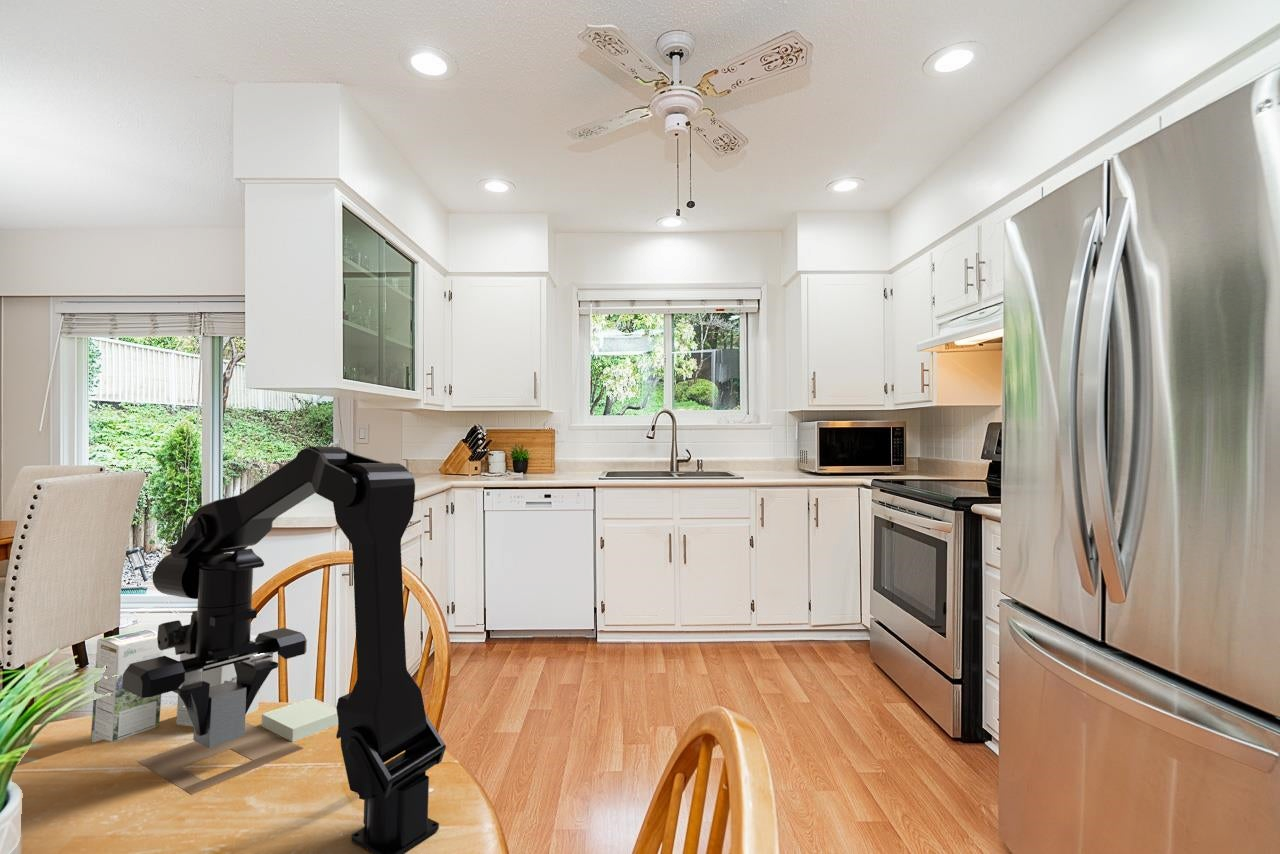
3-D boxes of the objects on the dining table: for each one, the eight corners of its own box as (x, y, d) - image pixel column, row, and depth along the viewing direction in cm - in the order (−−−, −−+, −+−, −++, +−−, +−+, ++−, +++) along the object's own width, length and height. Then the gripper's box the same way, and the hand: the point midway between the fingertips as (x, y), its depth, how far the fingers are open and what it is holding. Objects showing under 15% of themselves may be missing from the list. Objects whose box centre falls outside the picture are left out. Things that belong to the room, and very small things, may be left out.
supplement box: (217, 740, 86) (221, 649, 86) (173, 735, 87) (178, 645, 88) (259, 718, 93) (263, 634, 93) (219, 713, 94) (222, 631, 95)
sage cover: (342, 735, 88) (343, 711, 89) (292, 755, 82) (293, 729, 83) (311, 720, 93) (311, 697, 93) (260, 738, 87) (261, 713, 87)
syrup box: (138, 727, 89) (143, 627, 90) (160, 736, 87) (165, 633, 87) (89, 744, 84) (95, 637, 85) (111, 753, 81) (117, 644, 82)
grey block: (244, 735, 77) (246, 687, 78) (209, 748, 74) (211, 698, 74) (228, 728, 79) (230, 681, 80) (193, 740, 76) (195, 691, 76)
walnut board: (302, 759, 81) (303, 747, 81) (190, 807, 70) (191, 794, 70) (247, 733, 88) (247, 723, 88) (137, 773, 77) (137, 761, 77)
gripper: (266, 582, 89) (262, 690, 89) (106, 609, 73) (99, 741, 73) (310, 592, 84) (306, 707, 83) (147, 623, 68) (140, 767, 67)
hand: (219, 728), depth 77 cm, fingers closed on grey block, 4 cm apart
